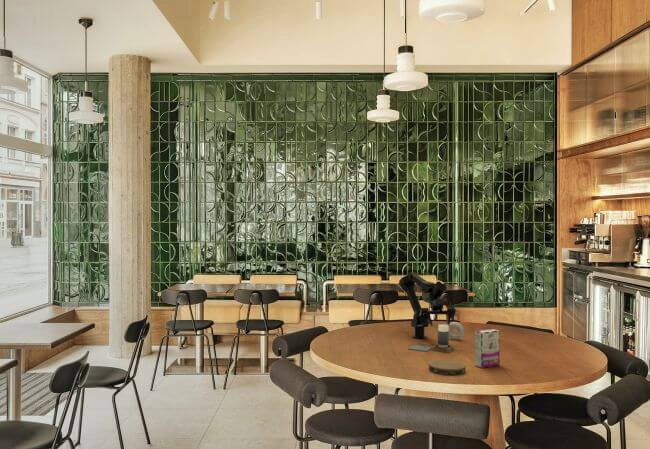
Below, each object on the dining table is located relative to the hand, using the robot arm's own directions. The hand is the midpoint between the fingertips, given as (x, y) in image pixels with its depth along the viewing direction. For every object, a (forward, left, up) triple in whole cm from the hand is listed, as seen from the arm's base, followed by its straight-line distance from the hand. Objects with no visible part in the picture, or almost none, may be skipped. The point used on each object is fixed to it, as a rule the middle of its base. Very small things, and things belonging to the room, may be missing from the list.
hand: (440, 325), depth 303 cm
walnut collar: (+4, +3, -12) cm, 13 cm away
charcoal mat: (+8, -8, -12) cm, 16 cm away
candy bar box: (+25, +31, -12) cm, 42 cm away
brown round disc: (+44, +18, -12) cm, 49 cm away
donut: (-26, 0, -12) cm, 28 cm away
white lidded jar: (+4, +3, -12) cm, 13 cm away
